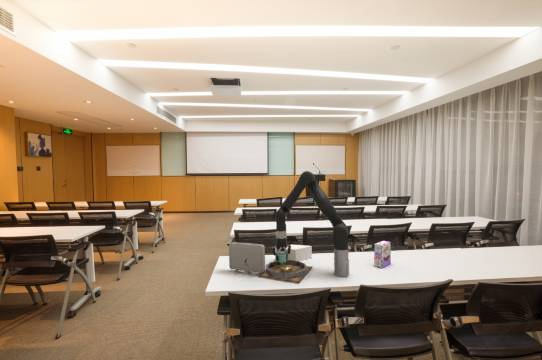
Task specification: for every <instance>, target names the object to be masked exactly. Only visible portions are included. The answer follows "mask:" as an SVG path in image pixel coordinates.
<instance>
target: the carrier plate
mask: <svg viewBox="0 0 542 360" xmlns="http://www.w3.org/2000/svg"><path fill="white" fill-rule="evenodd" d="M280 264H281V265H276V266H274V267H271V268H270V269H271V270H272V271H276V272H279V273H283V272H280V266H283V263H280ZM284 265H287V264H284ZM289 266H293V271H292V272H290V273H293V272H298V271H300V270H303V268H301V267H300V266H295V265H290V264H289ZM306 266H307V272H306V274H305V275H303V276H300V277H297V278H286V279H283V278H277V277H272V276H270V275H268V274H267V272H266V269H265V271H263V272H262V273H261V274H259V275H258V278H263V279H269V280H275V281H280V282H286V283H293V284H299V285H300V283H302V281H303V280H304V279H305V278H306V277H307V276H308V274H309V273H310V272H311V271H312V270H313V266H310V265H306ZM285 273H288V272H285Z"/></svg>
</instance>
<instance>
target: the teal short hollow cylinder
mask: <svg viewBox="0 0 542 360" xmlns="http://www.w3.org/2000/svg"><path fill="white" fill-rule="evenodd" d="M278 262H280V263H283V262H286V254H285V253H279V255H278Z"/></svg>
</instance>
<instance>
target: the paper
mask: <svg viewBox="0 0 542 360" xmlns="http://www.w3.org/2000/svg"><path fill="white" fill-rule="evenodd" d="M290 245H291V251H290V254H288V259H287V260H295V261H301V262H304V260H305V261H308V259H309V260H312V259H313V256H312V255H313V253H312V250H313V249H312V245H305V244H304V245H303V244H290ZM286 250H287V251H288V248H286ZM276 251H277V248H276V249H275V253H276ZM280 253H285V252H284V251H281V252H280ZM274 256H275V255H274ZM274 261H277V260H276V256H275V258H274Z"/></svg>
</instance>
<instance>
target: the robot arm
mask: <svg viewBox="0 0 542 360" xmlns="http://www.w3.org/2000/svg"><path fill="white" fill-rule="evenodd" d="M306 188H308V190H309V191H310V193H311V195H312V197H313V200H314V201H313V202H315V204H316V205H317V208H318V209H319V211H320V212H321V213H322V215H323V216H324V217H325V218H326V219H328V221H329V222H330V224H331V226H332V227H333V230H332V240H333V241H332V243H333V260H334V261H333V262H334V263H333V265H334V266H333V269H334V270H333V271H334V272H333V273H334V275H335V276H337V277H339V278H340V277H341V278H344V277H345V278H346V277H349V275H350V259H349V243H348V241H349V240H348V238H349V237H348V235H349V232H350V231H349V227H348V225H346V223H345V222H344V220H343V219H342V218H341V217H340V214H339V213H338V212H337V210H336V208H335V206H334V204H333V203H332V201H331V200H330V198H329V197H328V195H327V194H326V193H325V191H324V190H323V189H322V188H321V186H320V185H319V182H318V181H317V179H316V177H315V174H314V173H313V172H312V171H308V170H305V171H303V172H302V173H301V174H300V176H299V178H298V180H297V182H296V184H295V185H294V187H293V188H292V190H291V192H290V193H289V194H288V195H287V197H286V198H285V199H284V201H283V202H282V204H281V206H279V208H278V209H277V210H276V211H275V223H276V224H275V225H276V226H275V228H276V231H275V246H271V250H272V255H273V256H276V260H277V261H278V255H279V253H280V252H281V251H284V252H285V254H286V260H287V259H288V254H290V251H291V245H292V244H287V242H288V237H287V236H288V234H287V233H288V232H287V223H286V216H287V215H288V213H289V212H290V211H291V209H292V208H293V207H294V206H295V204H296V203H297V201H298V200H299V198H300V197H301V194H302V193H303V191H304V190H305V189H306ZM276 248H277V251H276V253H275V249H276ZM286 248H288V251H287V250H286Z"/></svg>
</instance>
